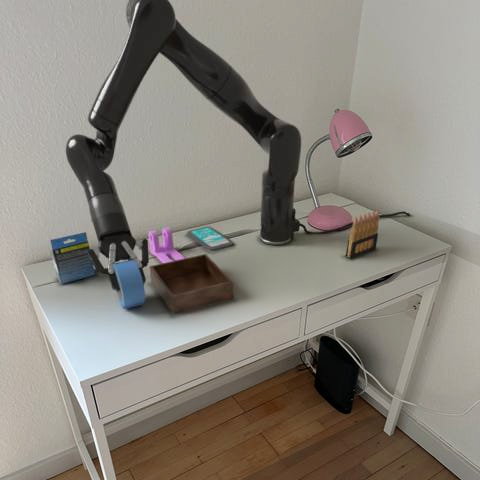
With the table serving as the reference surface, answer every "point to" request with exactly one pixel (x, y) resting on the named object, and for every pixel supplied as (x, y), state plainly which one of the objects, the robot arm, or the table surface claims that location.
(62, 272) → the blue retail box
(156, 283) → the wooden box
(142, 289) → the tape roll
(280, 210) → the robot arm
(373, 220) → the ammunition clip
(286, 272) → the table surface
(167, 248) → the bracket
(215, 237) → the smartphone
